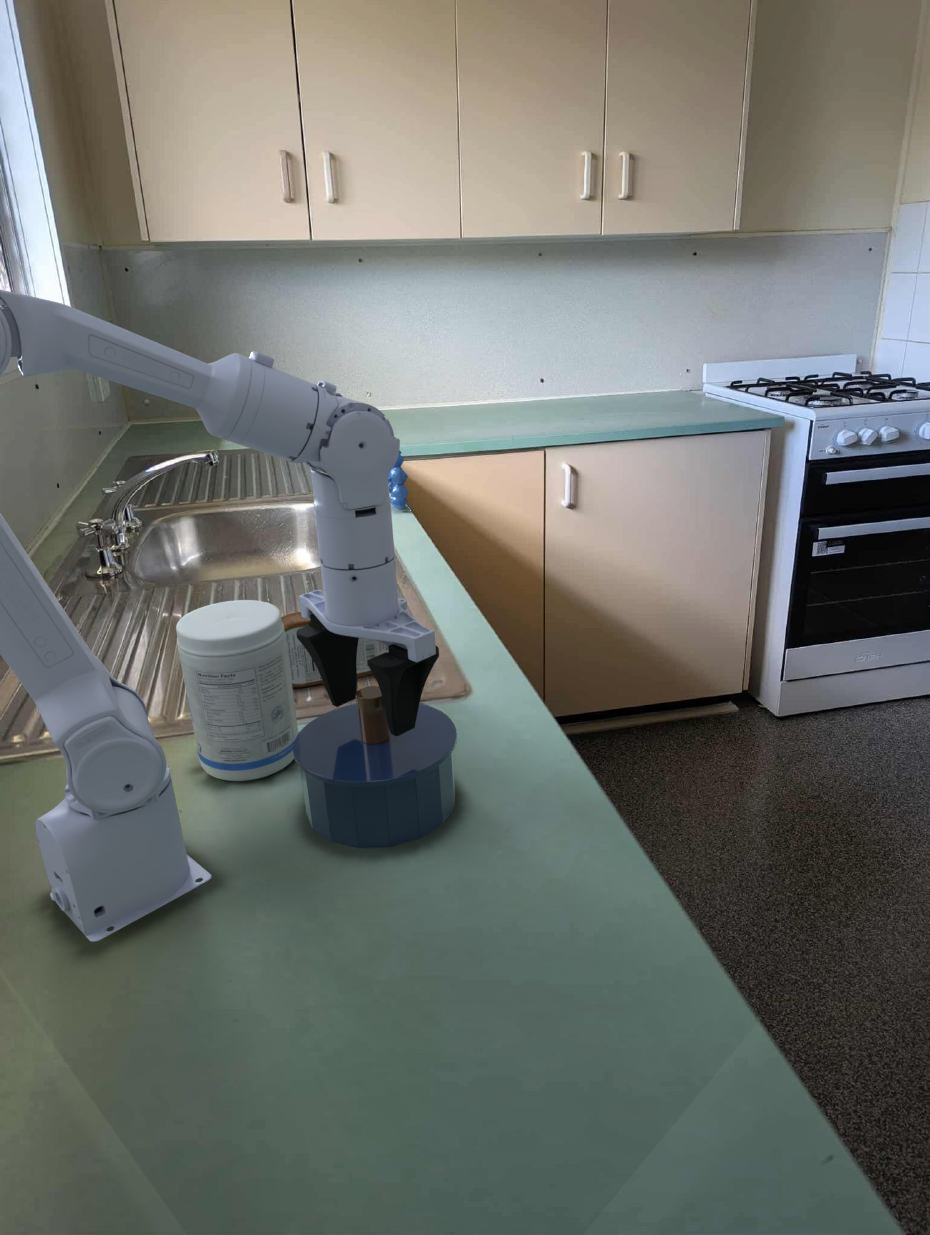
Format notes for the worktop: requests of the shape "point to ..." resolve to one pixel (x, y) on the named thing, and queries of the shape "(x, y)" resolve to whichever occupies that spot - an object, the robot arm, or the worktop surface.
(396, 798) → the crock
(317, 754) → the lid
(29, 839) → the worktop surface
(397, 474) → the grapes
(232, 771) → the supplement tub
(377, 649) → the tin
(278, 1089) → the worktop surface
